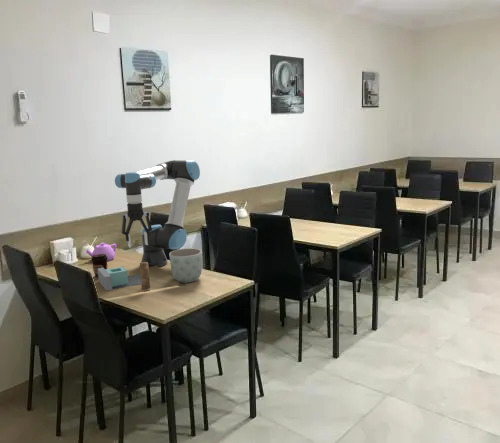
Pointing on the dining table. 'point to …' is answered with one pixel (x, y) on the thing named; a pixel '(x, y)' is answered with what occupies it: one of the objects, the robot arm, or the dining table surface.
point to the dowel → (145, 275)
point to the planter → (186, 264)
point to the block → (118, 276)
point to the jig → (107, 283)
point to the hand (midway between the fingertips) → (138, 245)
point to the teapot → (103, 250)
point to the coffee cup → (99, 262)
